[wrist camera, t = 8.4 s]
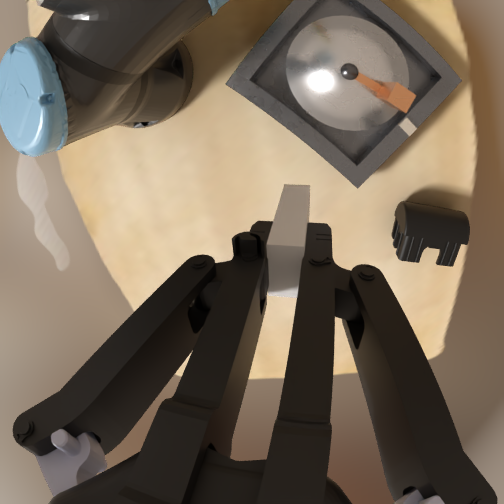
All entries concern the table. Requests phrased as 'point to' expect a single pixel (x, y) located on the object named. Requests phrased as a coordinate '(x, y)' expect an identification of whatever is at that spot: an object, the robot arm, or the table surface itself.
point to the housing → (317, 133)
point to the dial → (348, 73)
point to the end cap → (429, 232)
